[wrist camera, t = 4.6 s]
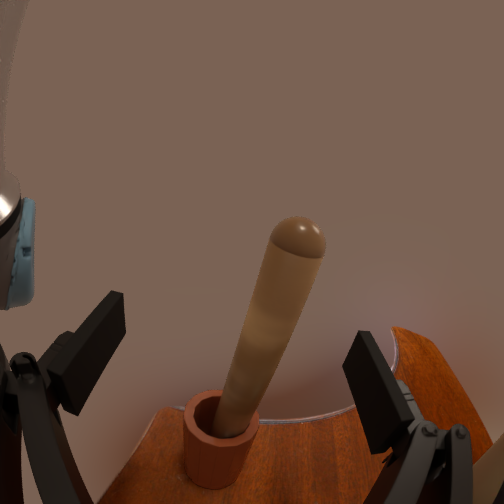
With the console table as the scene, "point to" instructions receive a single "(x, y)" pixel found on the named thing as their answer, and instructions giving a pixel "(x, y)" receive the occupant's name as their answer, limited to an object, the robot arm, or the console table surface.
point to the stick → (269, 320)
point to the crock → (213, 444)
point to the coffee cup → (490, 475)
